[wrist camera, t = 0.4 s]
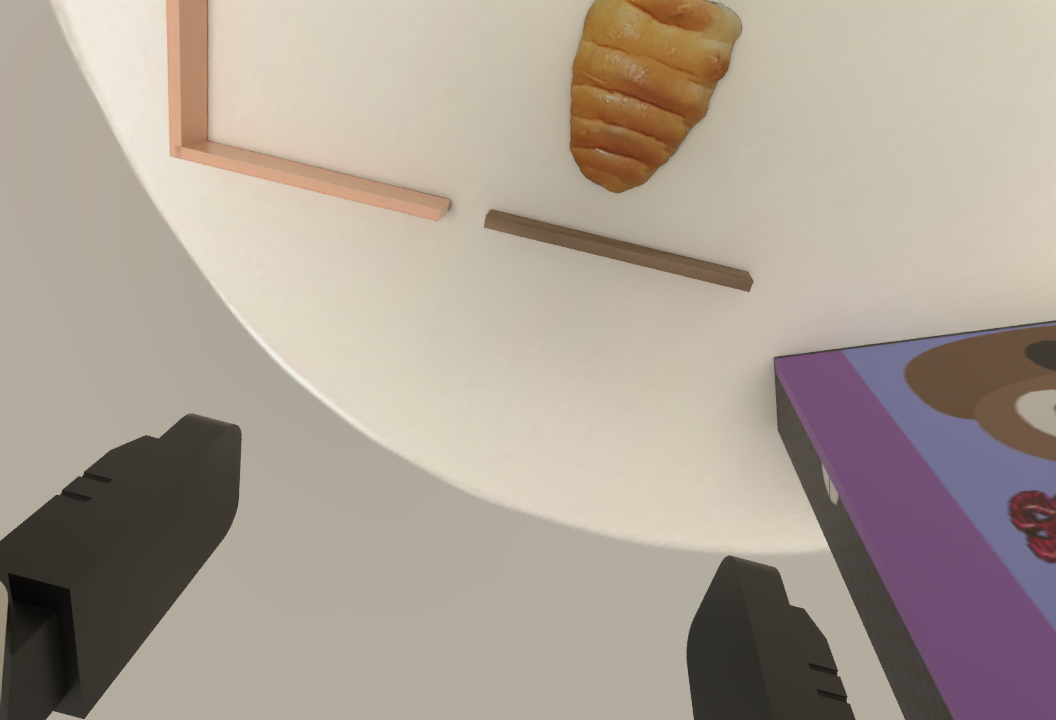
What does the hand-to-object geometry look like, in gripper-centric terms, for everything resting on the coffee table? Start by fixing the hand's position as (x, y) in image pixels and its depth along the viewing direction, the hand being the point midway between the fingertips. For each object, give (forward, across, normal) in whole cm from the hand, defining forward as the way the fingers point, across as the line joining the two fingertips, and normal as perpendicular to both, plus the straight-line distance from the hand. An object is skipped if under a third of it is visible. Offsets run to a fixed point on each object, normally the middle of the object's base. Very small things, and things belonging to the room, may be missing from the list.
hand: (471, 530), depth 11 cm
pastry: (+27, -2, -6) cm, 28 cm away
